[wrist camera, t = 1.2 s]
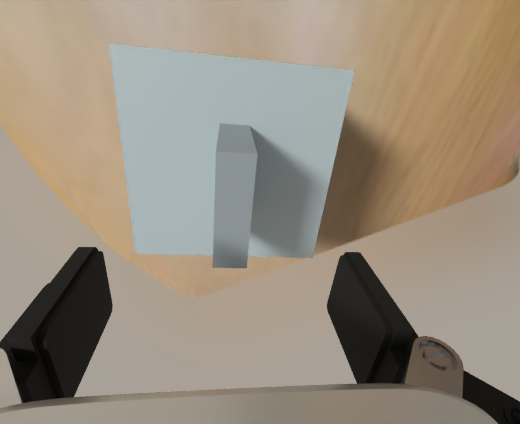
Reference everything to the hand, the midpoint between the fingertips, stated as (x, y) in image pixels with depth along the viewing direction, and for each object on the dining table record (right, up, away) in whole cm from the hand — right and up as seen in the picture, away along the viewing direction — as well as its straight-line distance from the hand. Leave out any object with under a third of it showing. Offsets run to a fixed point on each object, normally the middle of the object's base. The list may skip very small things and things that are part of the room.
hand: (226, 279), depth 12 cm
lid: (-1, +7, +12) cm, 13 cm away
